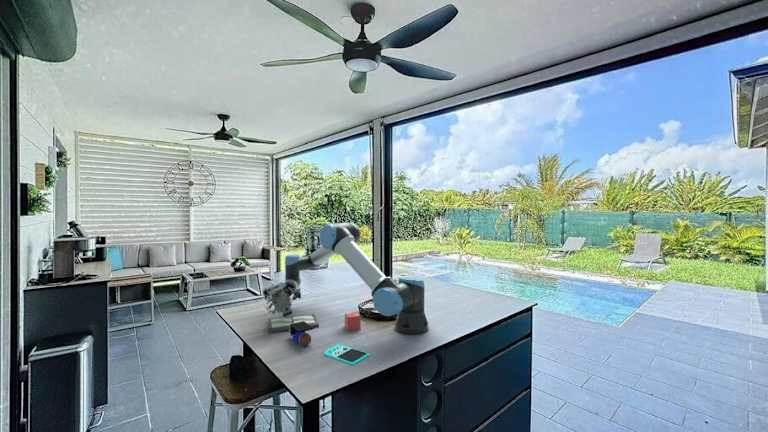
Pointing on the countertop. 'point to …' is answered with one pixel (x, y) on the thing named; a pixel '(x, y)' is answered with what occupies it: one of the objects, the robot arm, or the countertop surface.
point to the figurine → (278, 299)
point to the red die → (352, 321)
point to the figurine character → (300, 332)
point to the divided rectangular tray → (290, 322)
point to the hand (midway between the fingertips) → (279, 300)
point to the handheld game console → (346, 354)
